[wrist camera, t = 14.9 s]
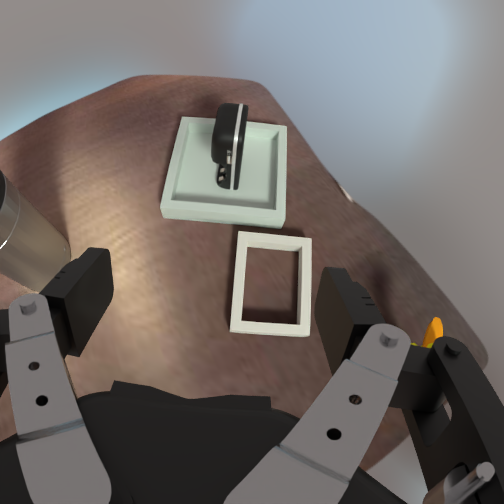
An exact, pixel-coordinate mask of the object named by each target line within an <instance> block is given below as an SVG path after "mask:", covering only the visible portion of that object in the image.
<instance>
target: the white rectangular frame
mask: <svg viewBox="0 0 504 504" xmlns="http://www.w3.org/2000/svg"><path fill="white" fill-rule="evenodd" d="M247 247H257V248H267V249H277V250H287V251H298V252H299V269H298V303H297V325H293V324H277V323H262V322H249V321H241V318H242V305H243V292H244V279H245V266H246V253H247ZM310 312H311V238H302V237H293V236H283V235H273V234H263V233H253V232H243V231H239V232H238V241H237V252H236V263H235V274H234V286H233V298H232V310H231V322H230V332H237V333H250V334H263V335H279V336H297V337H307V336H309V335H310Z"/></svg>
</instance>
